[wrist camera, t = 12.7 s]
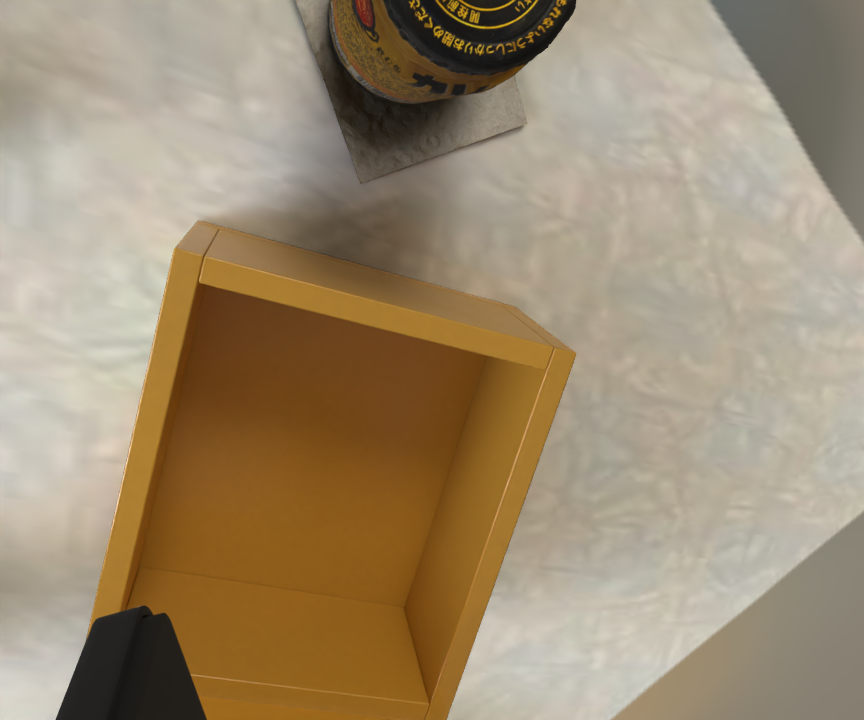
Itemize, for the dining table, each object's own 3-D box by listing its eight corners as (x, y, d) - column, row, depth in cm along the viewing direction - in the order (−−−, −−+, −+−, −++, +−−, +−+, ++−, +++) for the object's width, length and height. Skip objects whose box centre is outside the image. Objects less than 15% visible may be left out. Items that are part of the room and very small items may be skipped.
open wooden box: (197, 219, 30) (174, 247, 23) (516, 307, 34) (577, 353, 27) (117, 569, 34) (76, 682, 27) (413, 614, 38) (445, 725, 31)
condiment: (464, -101, 29) (584, -246, 18) (526, 123, 32) (662, 121, 21) (280, -40, 28) (283, -150, 17) (359, 183, 31) (406, 214, 20)
